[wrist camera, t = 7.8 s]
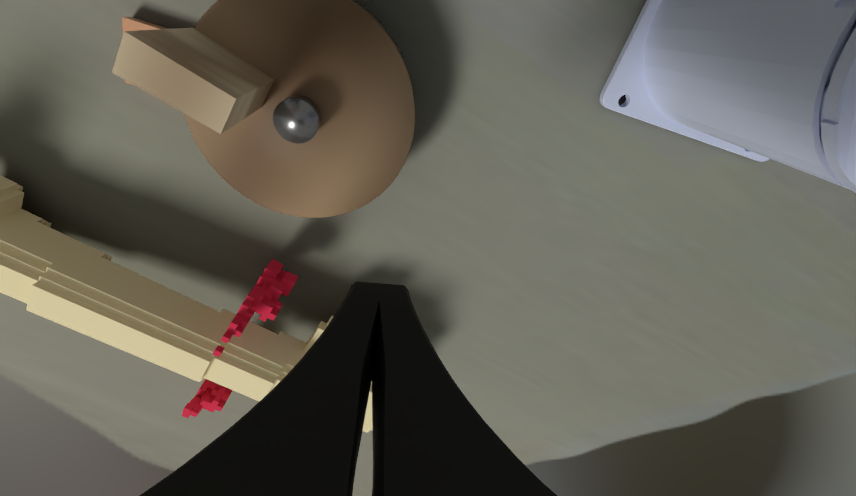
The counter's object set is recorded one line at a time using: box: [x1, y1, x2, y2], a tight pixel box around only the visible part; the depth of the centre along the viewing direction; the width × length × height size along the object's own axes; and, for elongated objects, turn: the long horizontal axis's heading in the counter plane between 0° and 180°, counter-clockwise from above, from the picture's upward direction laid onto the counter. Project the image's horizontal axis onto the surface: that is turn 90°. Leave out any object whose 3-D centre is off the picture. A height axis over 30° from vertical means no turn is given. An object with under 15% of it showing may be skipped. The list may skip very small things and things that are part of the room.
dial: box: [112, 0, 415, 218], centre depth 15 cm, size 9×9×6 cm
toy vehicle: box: [0, 175, 373, 433], centre depth 19 cm, size 10×9×25 cm
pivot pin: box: [273, 95, 322, 144], centre depth 15 cm, size 2×2×1 cm
